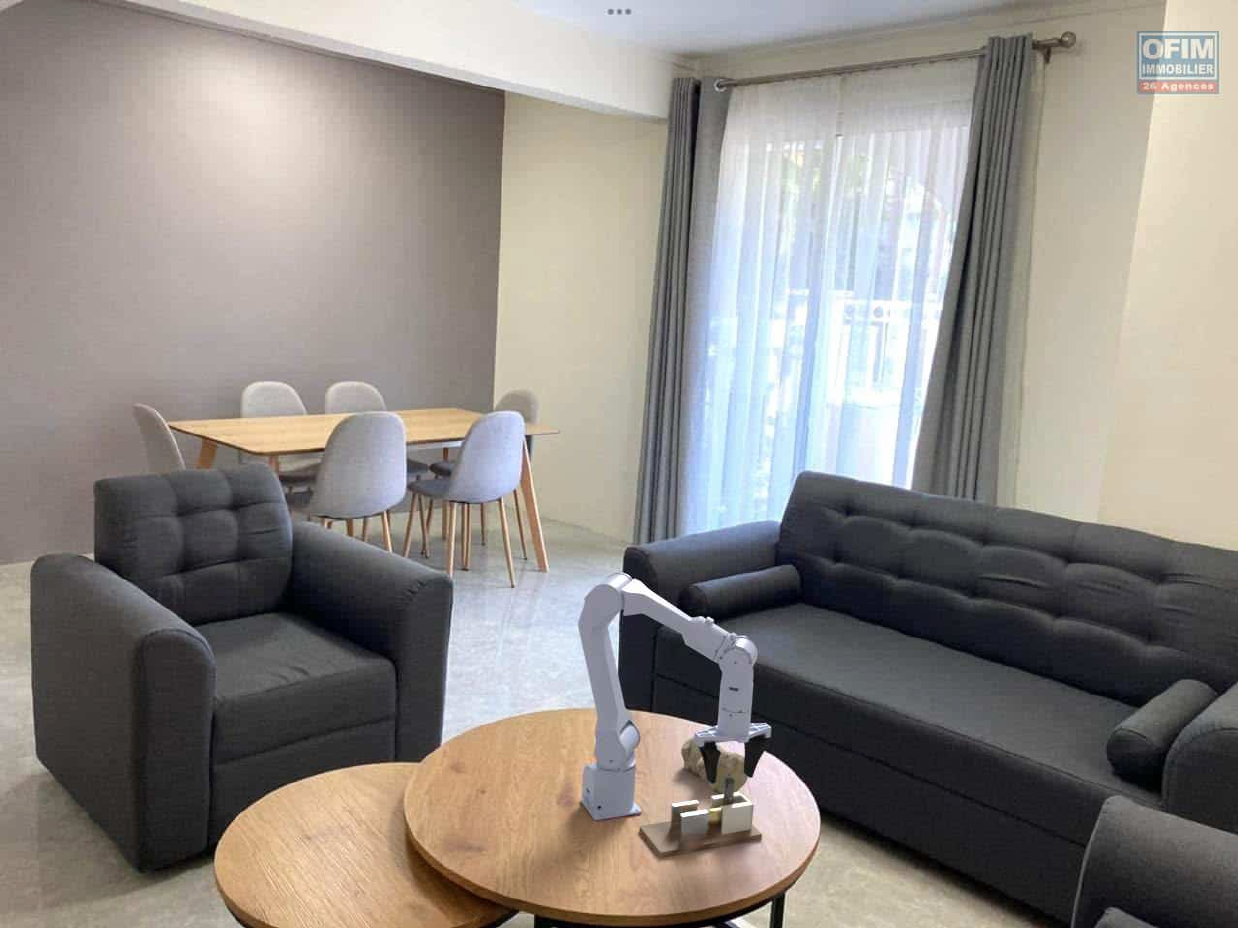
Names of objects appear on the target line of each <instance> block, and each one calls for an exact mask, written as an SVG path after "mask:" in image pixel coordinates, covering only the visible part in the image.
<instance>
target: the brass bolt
mask: <svg viewBox="0 0 1238 928" xmlns="http://www.w3.org/2000/svg"><path fill="white" fill-rule="evenodd" d="M734 786H735V780H734V778H733V777H732V776H727V777H726V778H725V784H724V798H723V806H725V805H731V804H733V799H734ZM701 810H707V811H708V825H714V824H720V823H722V812H723V811H722V810H721V807H715V808H710V807H709V808H704V809H703V808H702V809H697V811H701ZM691 812H695V811H691ZM686 813H689V812H686Z"/></svg>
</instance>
